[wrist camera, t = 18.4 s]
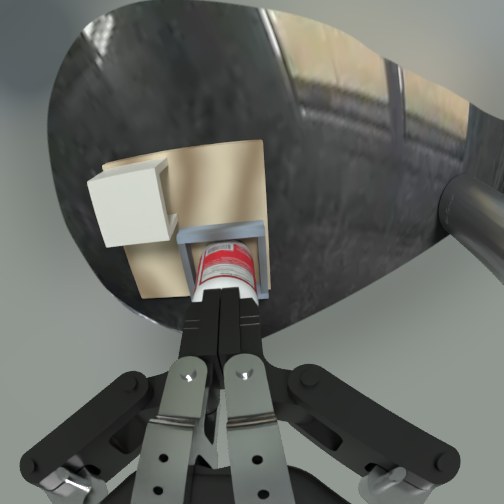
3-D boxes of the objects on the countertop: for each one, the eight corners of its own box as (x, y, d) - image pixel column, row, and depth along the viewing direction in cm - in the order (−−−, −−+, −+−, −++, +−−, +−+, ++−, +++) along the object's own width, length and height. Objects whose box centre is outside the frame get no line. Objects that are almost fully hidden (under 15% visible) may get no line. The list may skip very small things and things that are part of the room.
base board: (261, 139, 26) (265, 144, 23) (269, 283, 35) (272, 302, 32) (106, 163, 26) (91, 171, 23) (144, 292, 35) (137, 311, 32)
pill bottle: (231, 289, 34) (230, 361, 25) (190, 263, 32) (174, 334, 22) (264, 256, 32) (276, 326, 22) (222, 225, 29) (216, 291, 20)
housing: (166, 157, 25) (154, 167, 21) (178, 220, 29) (169, 240, 25) (106, 169, 25) (87, 181, 21) (121, 227, 29) (106, 247, 25)
